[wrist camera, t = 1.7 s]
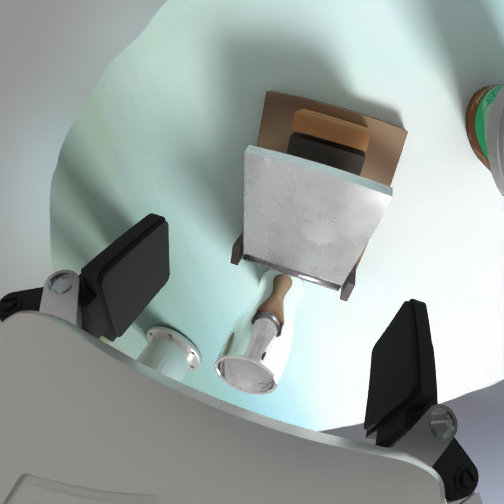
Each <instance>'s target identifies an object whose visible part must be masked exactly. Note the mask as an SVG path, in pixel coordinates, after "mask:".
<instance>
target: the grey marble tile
mask: <svg viewBox="0 0 504 504" xmlns="http://www.w3.org/2000/svg"><path fill="white" fill-rule="evenodd" d="M392 189H393V188H392V187H389V186H386V185H384V184H381V183H378V182H375V181H373V180H370V179H367V178H364V177H361V176H358V175H355V174H352V173H349V172H346V171H343V170H340V169H337V168H333V167H330V166H327V165H324V164H320V163H317V162H314V161H310V160H307V159H303V158H300V157H296V156H292V155H288V154H285V153H281V152H277V151H273V150H269V149H265V148H261V147H257V146H252V145H249V146H248V147H247V149H246V150H245V151H244V258H243V260H245V261H248V262H251V263H254V264H257V265H260V266H263V267H266V268H269V269H272V270H275V271H278V272H281V273H284V274H287V275H290V276H293V277H296V278H299V279H302V280H305V281H308V282H311V283H314V284H318V285H321V286H324V287H327V288H330V289H333V290H336V291H339V289H340V288H341V286H342V285H343V283H344V281H345V280H346V278H347V276H348V275H349V273H350V272H351V270H352V268H353V267H354V265H355V263H356V262H357V260H358V258H359V256H360V255H361V253H362V251H363V250H364V248H365V246H366V244H367V243H368V241H369V239H370V237H371V236H372V234H373V232H374V230H375V228H376V227H377V225H378V223H379V221H380V219H381V217H382V216H383V214H384V212H385V210H386V208H387V206H388V204H389V202H390V200H391V198H392Z"/></svg>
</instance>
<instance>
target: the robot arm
mask: <svg viewBox="0 0 504 504" xmlns="http://www.w3.org/2000/svg"><path fill="white" fill-rule="evenodd" d="M81 272H82V273H81V274H80V275H79V276H78V275H77V273H75V272H74V271H71V270H60V271H57V272H55V273H53V274H52V275H51V276H49V277H48V279H47V280H46V282H45V284H44V287H41V288H35V289H29V290H23V291H18V292H12V293H9V294H7V295H6V296H4V297H3V298H2V299H1V300H0V504H482V501H481V498H480V494H479V491H478V492H475V488H476V486H477V483H478V471H477V468H476V467H475V465H474V464H473V462H472V461H471V459H470V458H469V457H468V455H467V454H466V453H465V451H464V450H463V448H462V447H461V446H460V444H459V443H458V442H457V440H456V439H455V438H454V436H455V434H456V432H457V427H458V424H457V419H456V416H455V414H454V412H453V411H452V410H451V409H450V408H449V407H448V406H446V405H443V404H438V403H437V383H436V370H435V359H434V350H433V345H432V341H431V333H430V326H429V320H428V313H427V308H426V304H425V303H424V302H421V301H418V300H415V299H411V300H409V302H408V301H405V302H404V303H403V305H402V306H401V308H400V309H399V311H398V312H397V314H396V315H395V317H394V318H393V320H392V321H391V323H390V324H389V326H388V327H387V329H386V330H385V332H384V333H383V334H382V336H381V337H380V339H379V340H378V341H377V343H376V344H375V346H374V348H373V350H372V357H371V370H370V381H369V390H368V399H367V407H366V415H365V422H364V429H365V430H367V434H366V438H371V439H376V444H375V445H373V444H368V443H362V442H358V441H354V440H349V439H345V438H340V437H337V436H332V435H328V434H324V433H320V432H317V431H313V430H309V429H305V428H302V427H298V426H295V425H292V424H288V423H285V422H282V421H279V420H275V419H272V418H269V417H266V416H263V415H260V414H258V413H255V412H252V411H249V410H246V409H244V408H241V407H238V406H235V405H233V404H230V403H228V402H225V401H223V400H220V399H218V398H215V397H213V396H210V395H208V394H206V393H203V392H201V391H199V390H196V389H194V388H192V387H190V386H187V385H185V384H183V383H181V380H182V379H183V377H184V375H185V374H186V372H187V370H195V369H197V368H198V366H199V365H200V363H201V356H200V353H199V351H198V350H197V348H196V347H195V346H194V345H193V344H192V342H190V341H189V340H188V339H187V338H186V337H184V336H183V335H182V334H180V333H178V332H177V331H174V330H172V329H170V328H167V327H163V326H154V327H152V328H150V329H149V331H148V332H147V334H146V339H147V342H148V345H147V346H146V347H145V349H144V350H143V351H142V353H141V354H140V356H139V357H138V358H137V360H135V359H133V358H131V357H129V356H127V355H126V354H124V353H122V352H120V351H119V350H117V349H115V348H113V347H111V346H110V345H108V344H106V343H104V342H103V341H101V340H99V338H100V337H101V336H103V337H105V338H107V339H108V340H110V341H112V342H113V341H114V340H115V339H116V337H120V336H122V335H123V334H124V332H125V331H126V330H127V329H128V327H129V326H130V325H131V324H132V323H133V321H134V320H135V319H136V318H137V317H138V315H139V314H140V313H141V312H142V311H143V309H144V308H145V307H146V306H147V305H148V303H149V302H150V301H151V300H152V299H153V298H154V296H155V295H156V294H157V293H158V292H159V291H160V289H161V288H162V287H163V286H164V285H165V284H166V282H167V281H168V279H169V275H170V271H169V234H168V222H166V220H165V218H164V217H162V216H159V215H156V214H153V213H150V214H149V215H147V216H146V217H145V218H143V219H142V220H141V221H139V222H138V223H137V224H136V225H134V226H133V227H132V228H130V229H129V230H128V231H127V232H125V233H124V234H123V235H122V236H120V237H119V238H118V239H117V240H115V241H114V242H113V243H112V244H111V245H109V246H108V247H107V248H106V249H105V250H103V251H102V252H101V253H100V254H99V255H97V256H96V257H95V258H94V259H93V260H92V261H90V262H89V263H88V264H87V265H86V266H85V267H83V268H82V269H81Z"/></svg>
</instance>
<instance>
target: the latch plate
mask: <svg viewBox="0 0 504 504" xmlns="http://www.w3.org/2000/svg"><path fill="white" fill-rule="evenodd" d="M407 133H408V131H406V130H405V129H402V128H400V127H397V126H395V125H392V124H389V123H387V122H384V121H381V120H378V119H375V118H372V117H369V116H366V115H363V114H360V113H357V112H354V111H351V110H347V109H344V108H341V107H337V106H334V105H330V104H326V103H323V102H319V101H315V100H311V99H307V98H302V97H298V96H294V95H289V94H284V93H279V92H274V91H267V92H266V98H265V104H264V109H263V115H262V120H261V126H260V132H259V138H258V143H257V147H261V148H265V149H269V150H273V151H277V152H281V153H285V154H288V155H292V156H296V157H300V158H303V159H307V160H310V161H314V162H317V163H320V164H324V165H327V166H330V167H333V168H337V169H340V170H343V171H346V172H349V173H352V174H355V175H358V176H361V177H364V178H367V179H370V180H373V181H375V182H378V183H381V184H384V185H386V186H389V187H390V185H391V182H392V179H393V176H394V173H395V170H396V167H397V164H398V161H399V158H400V155H401V152H402V149H403V146H404V143H405V139H406V136H407ZM367 244H368V243H367ZM367 244H366V246H367ZM366 246H365V248H366ZM365 248H364V250H363V251H362V253H361V255H360V256H359V258H358V260H357V262H356V263H355V265H354V267H353V268H352V270H351V272H350V273H349V275H348V276H347V278H346V280H345V281H344V283H343V285H342V288H341V296H340V299H341V300H344V301H347V300H348V298H349V296H350V294H351V292H352V290H353V288H354V286H355V274H356V269H357V266H358V264H359V262H360V260H361V257H362V255H363V253H364V251H365ZM243 256H244V226H243V232H242V234H241V235H240V237H239V238H238V239H237V241H236V242H235V243H234V245H233V249H232V256H231V263H232V264H235V265H238V263H239V262H240V260H241V259H242V257H243Z"/></svg>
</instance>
